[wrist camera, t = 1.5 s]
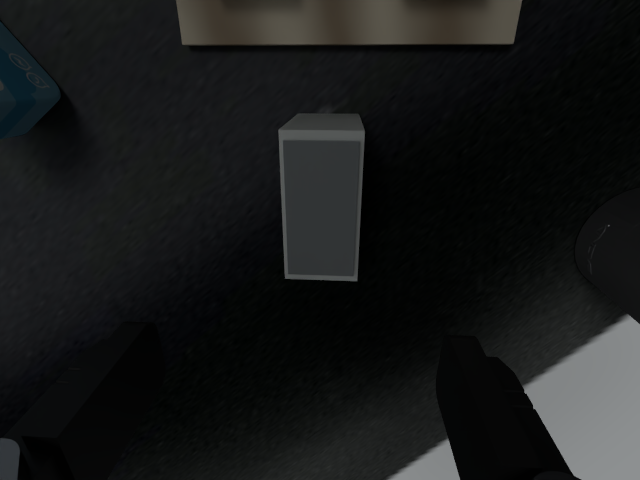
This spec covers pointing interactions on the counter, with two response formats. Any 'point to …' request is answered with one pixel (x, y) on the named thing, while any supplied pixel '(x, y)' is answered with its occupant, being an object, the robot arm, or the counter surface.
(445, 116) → the counter surface
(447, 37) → the rail board
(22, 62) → the data package
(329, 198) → the block
